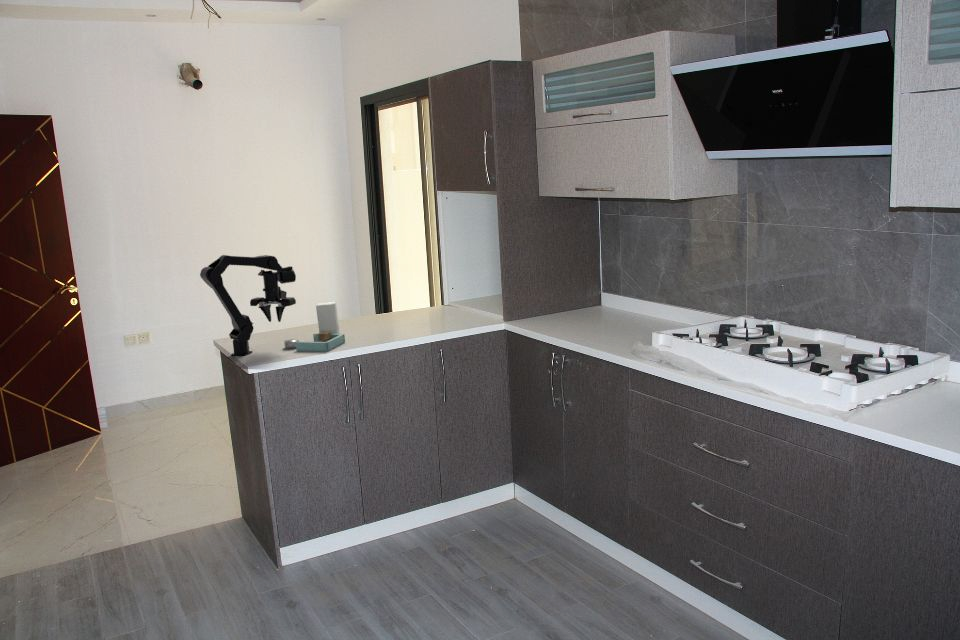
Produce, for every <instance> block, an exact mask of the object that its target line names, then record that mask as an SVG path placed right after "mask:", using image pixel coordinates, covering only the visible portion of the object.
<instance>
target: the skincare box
mask: <svg viewBox="0 0 960 640" xmlns="http://www.w3.org/2000/svg"><path fill="white" fill-rule="evenodd" d="M337 307H338V306H337V301H329V302H318V303H317V304H316V306H315V308H316V309H315V310H316V316H317V317H316V318H317V324H318V332H319V333H321V332H331V334H341V333H340V325H339V324H340V323H339V318H338V317H339V316H338V309H337Z"/></svg>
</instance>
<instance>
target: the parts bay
mask: <svg viewBox="0 0 960 640" xmlns="http://www.w3.org/2000/svg"><path fill="white" fill-rule="evenodd" d="M312 335H313V341H299V342H296V348H295V349H296V351H297V352H298V351H300V352H301V351H303V352H304V351H305V352H308V351H309V352H311V351H312V352H329V351H331V350H333V349H334V347H335V348H336V347H338V346H340V345H342V344H344V343H346V338H345V333H340V334H331V340H329V341H327V342H319V340H318V333H314V334H312Z"/></svg>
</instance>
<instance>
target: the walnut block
mask: <svg viewBox="0 0 960 640" xmlns="http://www.w3.org/2000/svg"><path fill="white" fill-rule="evenodd" d="M317 334H318V340H319V342H327V341H329V340H331V332H321V333H317Z"/></svg>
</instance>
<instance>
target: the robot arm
mask: <svg viewBox="0 0 960 640" xmlns="http://www.w3.org/2000/svg"><path fill="white" fill-rule="evenodd" d="M229 266H243V267H244V266H247V267H256V268H260V271H259V272H258V273H257V276H260V277H262V279H263V288H262V292H264V297H254V298H251V299H250V301H249V305H250V307H257V308H258V309H260V310H261V312H262V313H263V314H264V316H265V317H266V319H267V320H268V322H269V323H271V322H272V314H271V313H272V312H271V308H272V304H273V305H277V306H275V312H276V313H275V314H276V318H277V321H278V323H281V321H282V317H283V315H284V314H283V313H284V310H285V309H286V307H290V306H294V305H296V304H297V302H296V301H297V300H296V299H295V297H294V296H293V297H292V296H291V297H289V296H288V297H287V293H288V292H287V291H285V290H282V289H281V286H279V283H280V284H281V285H283V284H290V283H294V282H296V280H297V278H296V277H297V275H296V272H295V271H294V268H293V266H290V265H289V266H285V267H282V265H281V264H280V263H279V261H278V258H277V257H276V256H274V255H268V254H263V255H258V256H242V255H241V256H238V255H227V254H222V255H220V256H219V257H218V258H217V259H216V260H214V261H212V262H211V263H210V264H209V265H207V266H204V267H203V268H202V269H201V270H200V272H199V273H200V274H199V276H200V278H201V279H202V281H203V282H204V283H205V284H206V285H207V286H208V287H210V289H212V291H214V294H215V295H216V296H217V298H218V300H219V301H220V303H221V305H222V306H223V308H224V309H225V311H226V312H227V314H228V316H229V317H230V321H231V325H232V327H233V329H232V330H231V331H230V333H229V334H228V336H229V338H230V339H231V340H232V346H233V353H230V355H231V356H242V357H244V356H247V355H250V354H251V353H253V350H250V345H249V340H251V335H252V333H254V326H253V325H254V322H252V320H251V318H250V317H249V315H246V314H242V313H241V311H240V309H239V308H238V306H237V305H236V303H235V302H234V300H233V298H232V297H231V296H230V293H229V292H228V290H227V289H226V286H225V285H224V281H223V276H222V275H223V274H224V273H225V272H226V270H227V268H228V267H229ZM264 269H265V270H264Z"/></svg>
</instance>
